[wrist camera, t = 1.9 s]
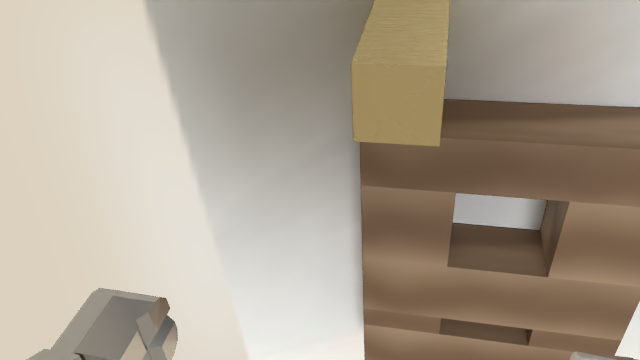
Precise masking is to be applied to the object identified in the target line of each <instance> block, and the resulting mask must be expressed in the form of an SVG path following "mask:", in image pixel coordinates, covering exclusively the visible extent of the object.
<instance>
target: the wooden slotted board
mask: <svg viewBox="0 0 640 360" xmlns="http://www.w3.org/2000/svg"><path fill="white" fill-rule="evenodd" d="M360 170H361V215H362V260H363V305H364V350H365V360H570V358H571V355H572V354H573V353H574V352H575V351H577V352H586V353H594V354H603V355H611V356H614V355H615V353H616V351H617V349H618V346H619V344H620V342H621V340H622V338H623V336H624V333H625V331H626V329H627V327H628V325H629V323H630V320H631V318H632V316H633V314H634V312H635V310H636V307H637V305H638V303H639V301H640V108H634V107H610V106H587V105H563V104H540V103H516V102H492V101H469V100H445V99H444V101H443V112H442V124H441V135H440V146H422V145H406V144H390V143H373V142H360ZM456 193H465V194H478V195H491V196H504V197H516V198H529V199H542V200H548V201H547V205H546V209H545V213H544V217H543V221H542V225H541V229H540V231H535V230H524V229H513V228H502V227H490V226H479V225H468V224H457V223H452V221H453V212H454V204H455V195H456Z"/></svg>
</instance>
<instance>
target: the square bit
mask: <svg viewBox="0 0 640 360" xmlns="http://www.w3.org/2000/svg"><path fill="white" fill-rule="evenodd" d="M449 5H450V0H375V1H374V4H373V6H372V9H371V12H370V14H369V17H368V20H367V22H366V25H365V28H364V30H363V33H362V36H361V38H360V41H359V44H358V46H357V49H356V52H355V54H354V57H353V60H352V62H351V75H352V108H353V140H354V141H357V142H373V143H390V144H406V145H422V146H440V135H441V124H442V112H443V101H444V89H445V78H446V66H447V46H448V25H449Z"/></svg>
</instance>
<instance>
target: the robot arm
mask: <svg viewBox="0 0 640 360" xmlns="http://www.w3.org/2000/svg"><path fill="white" fill-rule="evenodd" d="M169 309H170V307H169V304H168V302H167V299H166V298H162V297H156V296H149V295H143V294H136V293H130V292H123V291H118V290H110V289H103V288H99V289H97V290H96V291H94V292H93V293H92V294H91V295H90V296H89V298H88V299H87V300H86V302H85V303H84V304H83V306H82V307H81V308H80V310H79V311H78V313H77V314H76V315H75V317H74V318H73V319H72V321H71V322H70V323H69V325H68V326H67V328H66V329H65V330H64V332H63V333H62V334H61V336H60V337H59V339H58V340H57V341H56V343H55V344H54V345H53V347H52V348H51V350H47V349H43V350H42V351H40V352H38V353H37V354H35V355H34V356H32V357H30V358H29V359H27V360H171V359H172V357H173V355H174V353H175V349H176V344H177V340H178V337H177V336H178V335H177V327H176V324H175V322H174V321H173V320H172V319H171V318H170V317H169V316H168V315H167V313H168V311H169ZM570 360H637V359H633V358H628V357H619V356H611V355H603V354H594V353H586V352H577V351H575V352H574V353H573V354H572V355H571V358H570Z"/></svg>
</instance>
